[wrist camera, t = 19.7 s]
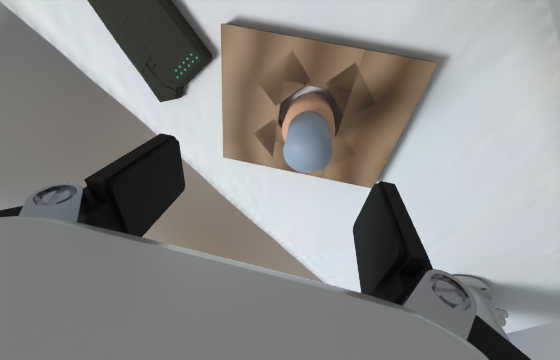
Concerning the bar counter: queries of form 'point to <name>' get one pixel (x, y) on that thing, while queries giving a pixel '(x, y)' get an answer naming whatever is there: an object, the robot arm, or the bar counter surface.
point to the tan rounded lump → (310, 104)
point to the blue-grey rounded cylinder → (308, 142)
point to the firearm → (155, 42)
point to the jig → (324, 74)
